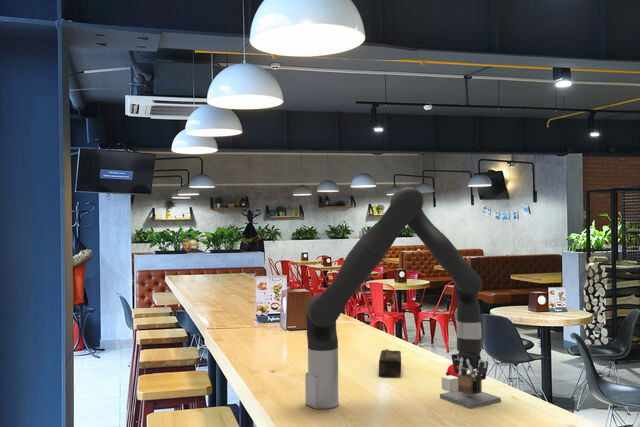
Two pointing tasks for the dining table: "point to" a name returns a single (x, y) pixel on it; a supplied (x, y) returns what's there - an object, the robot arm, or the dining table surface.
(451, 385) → the cream block
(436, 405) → the dining table surface
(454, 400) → the plate
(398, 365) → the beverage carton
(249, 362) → the dining table surface
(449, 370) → the red rounded lumpy piece
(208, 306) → the dining table surface
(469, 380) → the walnut block
